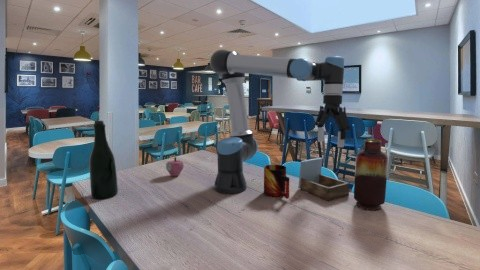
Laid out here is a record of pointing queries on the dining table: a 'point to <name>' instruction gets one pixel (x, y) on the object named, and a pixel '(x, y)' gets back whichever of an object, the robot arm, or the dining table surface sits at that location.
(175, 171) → the apple
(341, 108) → the robot arm
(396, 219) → the dining table surface
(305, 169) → the pale blue square panel
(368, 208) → the vase
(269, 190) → the mug
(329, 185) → the crate
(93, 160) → the beer bottle
